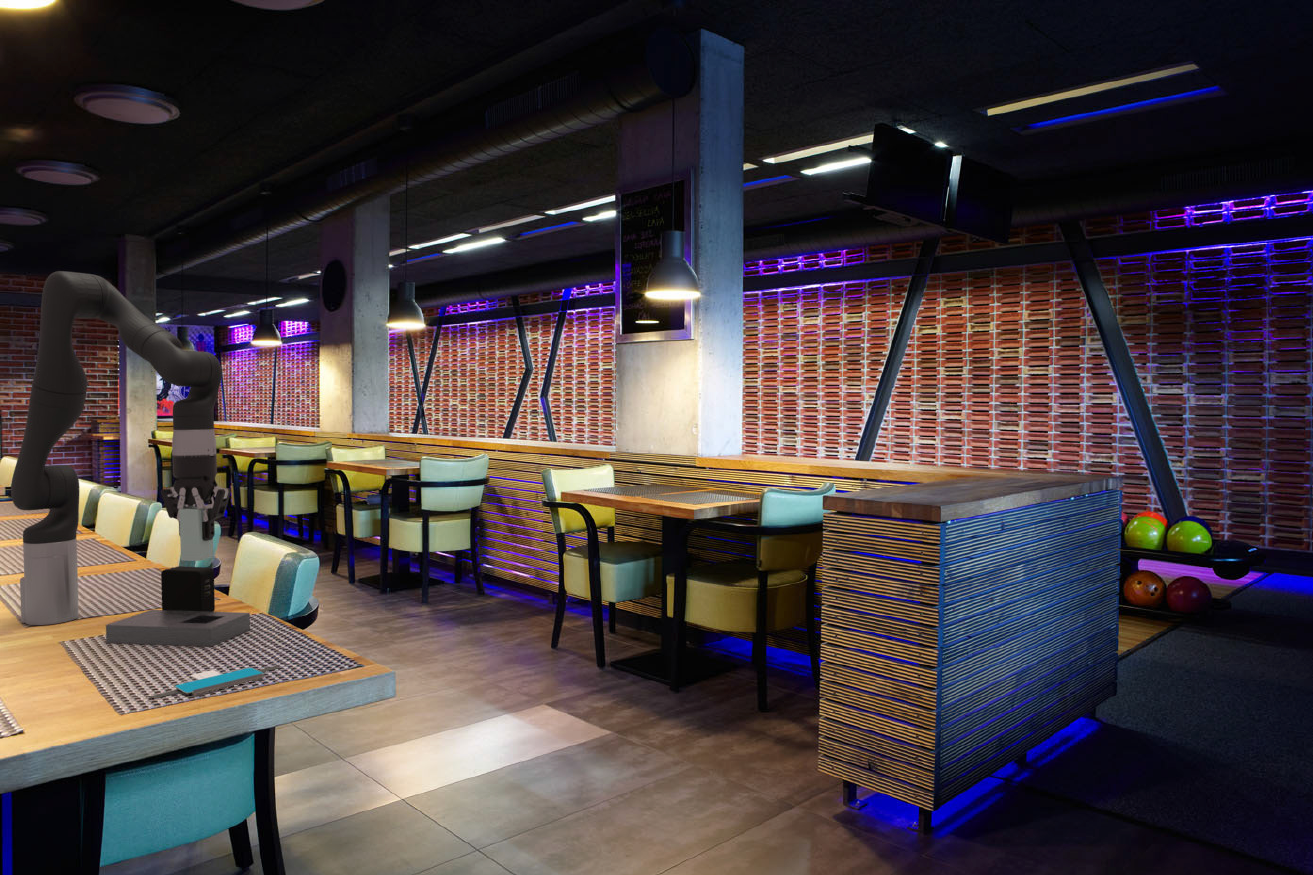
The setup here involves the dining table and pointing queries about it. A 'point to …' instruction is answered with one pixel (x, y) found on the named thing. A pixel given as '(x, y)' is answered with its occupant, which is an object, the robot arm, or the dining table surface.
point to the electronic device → (188, 589)
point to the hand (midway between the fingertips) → (197, 539)
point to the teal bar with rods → (216, 681)
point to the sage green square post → (193, 536)
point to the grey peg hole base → (178, 628)
